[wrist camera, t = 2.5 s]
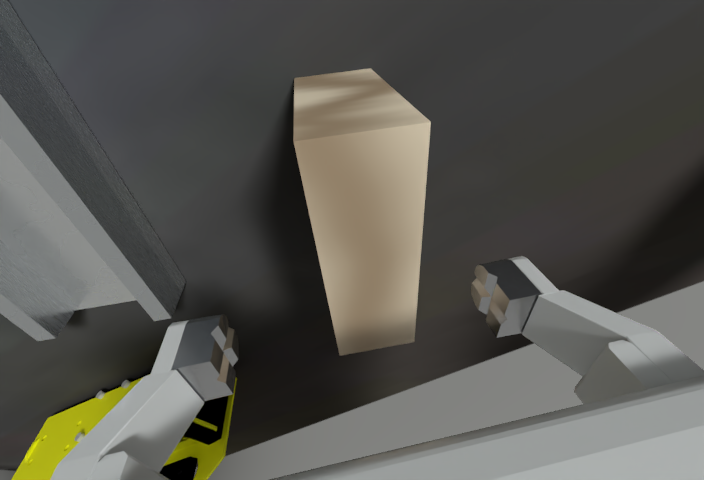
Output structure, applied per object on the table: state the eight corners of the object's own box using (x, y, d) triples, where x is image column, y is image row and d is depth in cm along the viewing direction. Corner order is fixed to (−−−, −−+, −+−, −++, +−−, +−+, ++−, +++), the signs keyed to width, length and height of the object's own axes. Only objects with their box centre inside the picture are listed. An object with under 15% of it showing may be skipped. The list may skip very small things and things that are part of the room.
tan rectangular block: (371, 68, 14) (432, 121, 8) (378, 237, 20) (415, 341, 14) (293, 78, 14) (291, 141, 7) (325, 245, 20) (338, 356, 14)
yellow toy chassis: (108, 425, 30) (57, 540, 24) (50, 406, 27) (-28, 535, 20) (241, 371, 28) (225, 483, 21) (196, 343, 24) (161, 466, 18)
